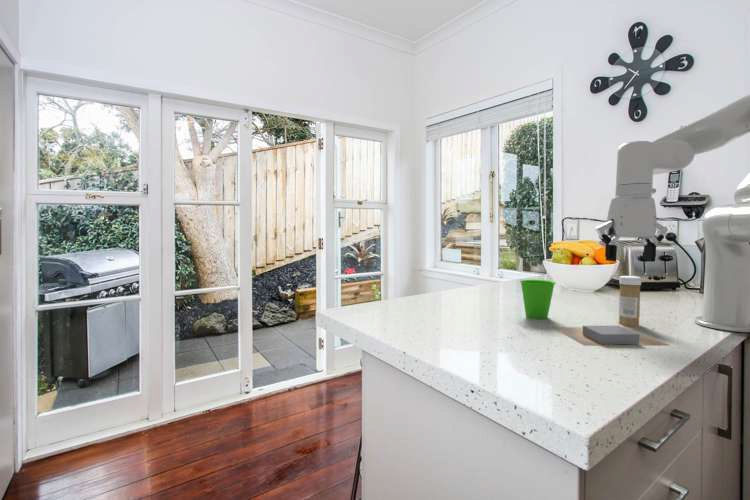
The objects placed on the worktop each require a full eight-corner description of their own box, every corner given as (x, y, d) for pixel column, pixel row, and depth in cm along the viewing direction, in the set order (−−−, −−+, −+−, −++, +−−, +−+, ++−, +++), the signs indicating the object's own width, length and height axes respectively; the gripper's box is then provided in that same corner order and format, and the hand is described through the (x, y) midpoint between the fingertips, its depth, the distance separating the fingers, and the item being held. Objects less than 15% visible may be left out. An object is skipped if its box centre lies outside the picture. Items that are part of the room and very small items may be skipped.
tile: (617, 325, 84) (582, 325, 84) (639, 334, 77) (601, 334, 77) (617, 334, 85) (582, 334, 85) (639, 344, 78) (601, 344, 78)
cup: (550, 327, 96) (551, 285, 95) (514, 321, 101) (515, 282, 101) (557, 320, 103) (558, 281, 102) (524, 315, 108) (524, 278, 108)
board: (624, 332, 91) (624, 327, 91) (669, 350, 77) (670, 345, 77) (551, 332, 91) (552, 327, 91) (583, 350, 77) (584, 345, 77)
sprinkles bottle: (642, 329, 93) (644, 276, 93) (634, 332, 91) (636, 278, 90) (622, 325, 97) (624, 274, 97) (614, 328, 95) (616, 276, 94)
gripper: (656, 194, 96) (652, 260, 97) (590, 193, 96) (587, 259, 97) (680, 191, 88) (676, 262, 89) (608, 190, 88) (605, 262, 89)
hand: (629, 260), depth 93 cm, fingers open, 9 cm apart
